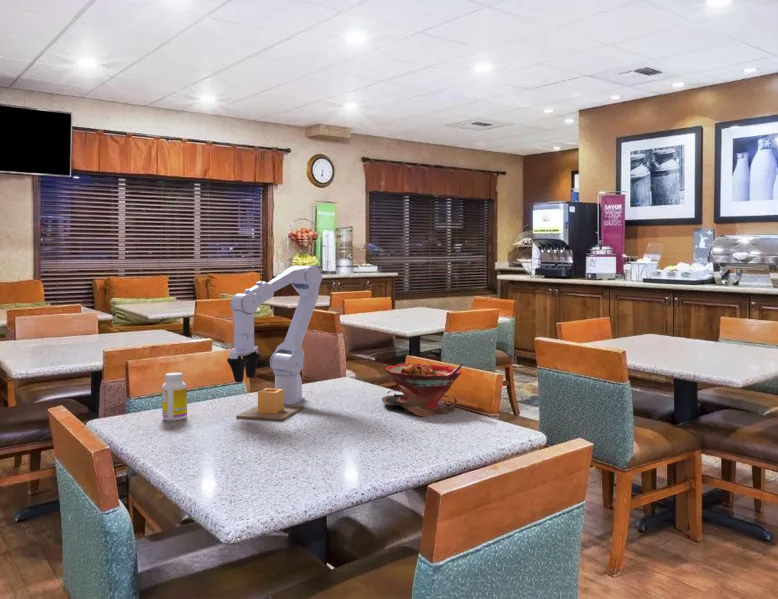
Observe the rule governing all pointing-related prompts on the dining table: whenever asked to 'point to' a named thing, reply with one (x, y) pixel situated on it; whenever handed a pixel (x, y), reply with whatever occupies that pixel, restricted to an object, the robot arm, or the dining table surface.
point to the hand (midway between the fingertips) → (244, 379)
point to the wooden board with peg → (270, 414)
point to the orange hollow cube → (270, 400)
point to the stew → (422, 387)
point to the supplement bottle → (174, 397)
